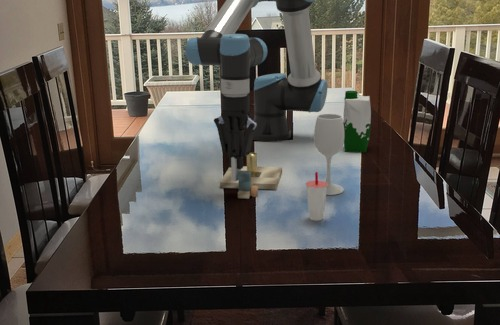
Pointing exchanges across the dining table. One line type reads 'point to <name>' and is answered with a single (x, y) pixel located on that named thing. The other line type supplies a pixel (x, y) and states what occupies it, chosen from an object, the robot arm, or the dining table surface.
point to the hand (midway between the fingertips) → (236, 179)
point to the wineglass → (329, 143)
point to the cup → (316, 198)
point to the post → (252, 164)
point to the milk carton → (356, 122)
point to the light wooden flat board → (252, 180)
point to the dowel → (254, 191)
